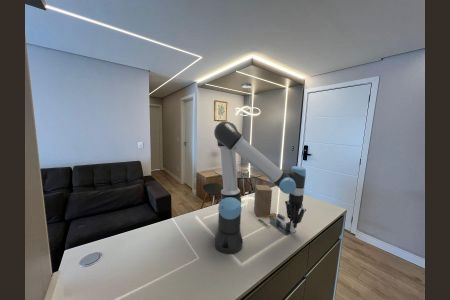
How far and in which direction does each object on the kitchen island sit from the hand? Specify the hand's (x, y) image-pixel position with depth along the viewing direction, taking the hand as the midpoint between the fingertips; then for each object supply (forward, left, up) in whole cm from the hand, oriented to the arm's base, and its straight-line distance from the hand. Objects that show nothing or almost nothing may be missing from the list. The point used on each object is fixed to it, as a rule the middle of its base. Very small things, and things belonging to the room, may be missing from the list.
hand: (292, 231), depth 98 cm
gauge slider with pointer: (-4, +10, -1) cm, 10 cm away
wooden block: (0, +27, -2) cm, 27 cm away
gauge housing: (-3, +11, -2) cm, 11 cm away
